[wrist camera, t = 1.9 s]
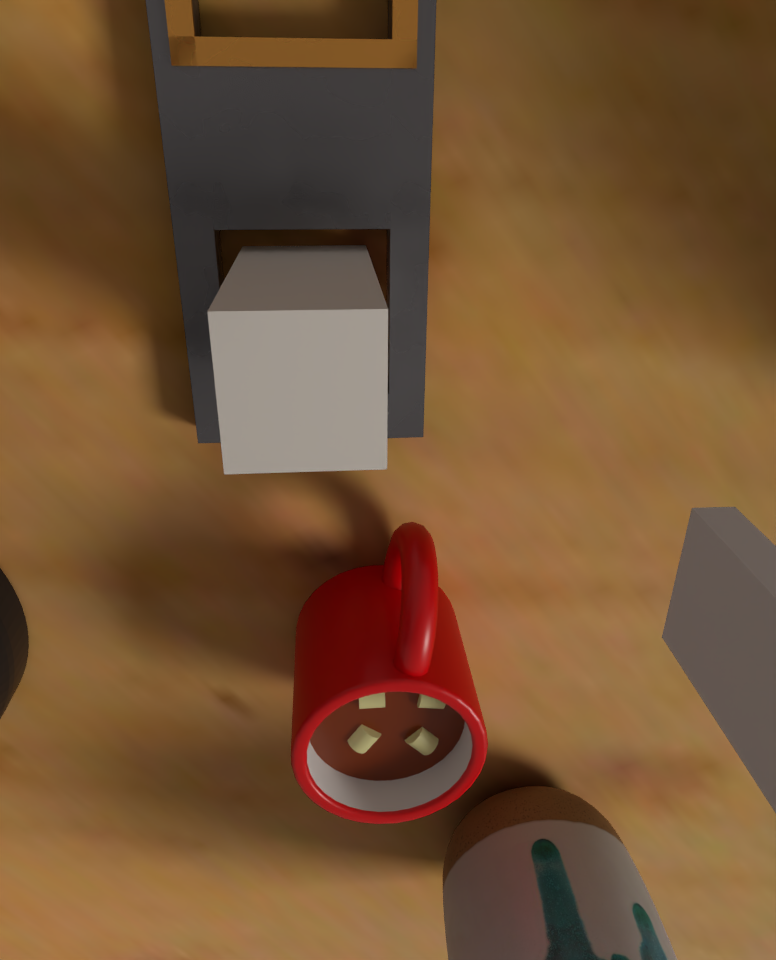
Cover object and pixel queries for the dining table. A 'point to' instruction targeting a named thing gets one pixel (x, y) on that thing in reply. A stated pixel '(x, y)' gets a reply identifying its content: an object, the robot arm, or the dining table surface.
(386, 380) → the peg
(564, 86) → the dining table surface
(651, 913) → the vase
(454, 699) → the mug
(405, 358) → the grey slotted plate
